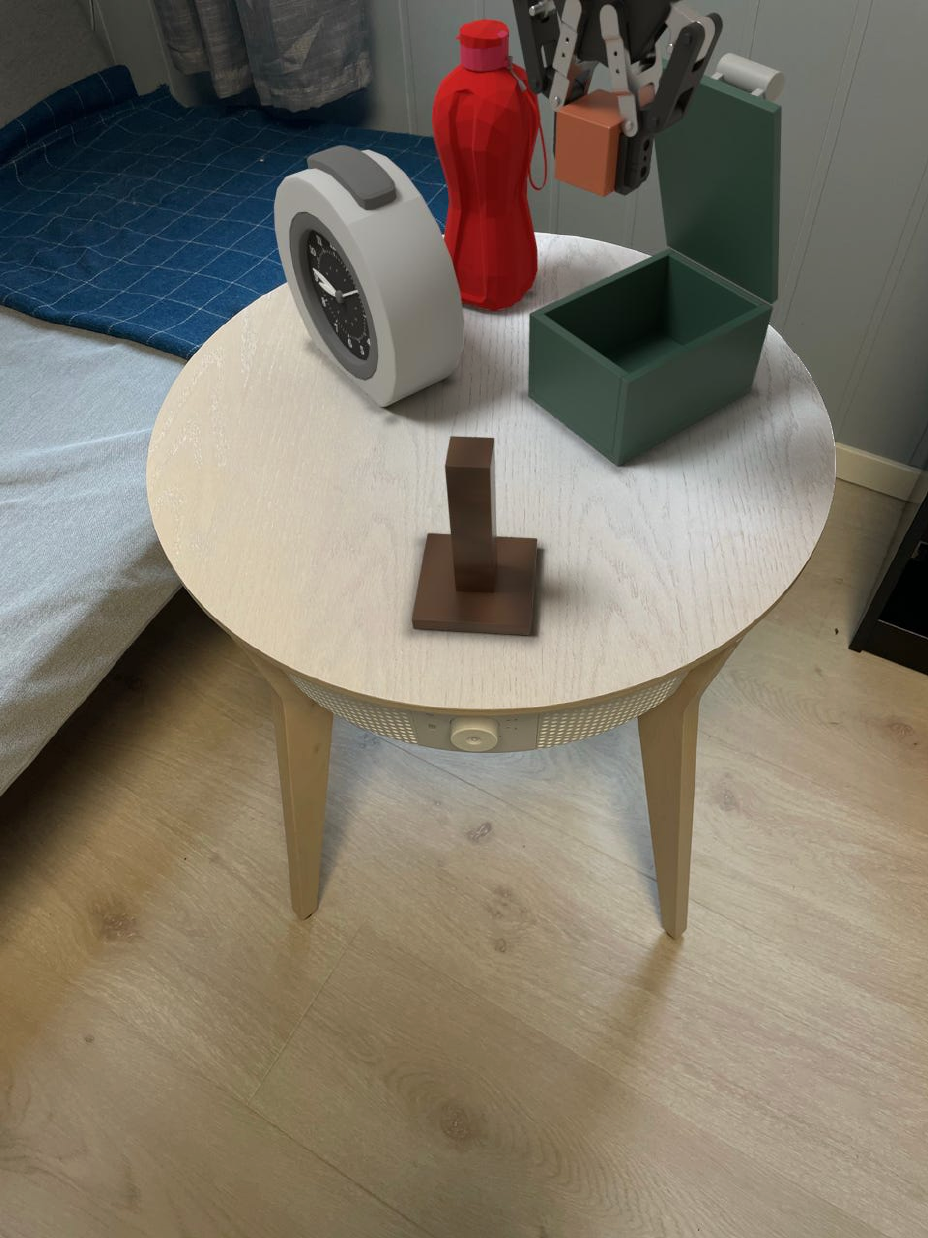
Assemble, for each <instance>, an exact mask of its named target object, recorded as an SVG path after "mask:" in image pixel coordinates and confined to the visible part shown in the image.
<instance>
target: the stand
mask: <svg viewBox="0 0 928 1238" xmlns="http://www.w3.org/2000/svg"><path fill="white" fill-rule="evenodd" d="M495 450H496V449H495V437H485V436H483V437H481V436H478V437H477V436H457V435H456V436H455V435H451V436H450V437H449V440H448V446H447V450H446V451H447V452H446V458H445V462H444V463H445V464H444V472H445V473H444V474H445V483H446V495H447V507H448V518H449V519H448V520H449V531H450V533H440V532H439V533H437V532H436V533H435V532H428V533H426V538H425V544H424V550H423V556H422V562H421V566H420V571H419V577H418V583H417V588H416V593H415V597H414V598H415V599H414V604H413V610H412V613H411V625H412V628H413V629H417V630H418V629H419V630H435V631H448V632H449V631H451V632H467V633H469V632H470V633H483V634H484V633H485V634H500V635H502V634H503V635H516V636H517V635H519V636H520V635H521V636H531V632H532V619H533V607H534V594H535V581H536V580H535V579H536V568H537V555H538V538H537V537H520V536H502V535H501V536H499V535H497V533H498V532H497V498H496V497H497V494H496V493H497V491H496V490H497V489H496V453H495V452H496V451H495Z"/></svg>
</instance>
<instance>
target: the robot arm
mask: <svg viewBox="0 0 928 1238" xmlns="http://www.w3.org/2000/svg"><path fill="white" fill-rule="evenodd" d="M511 1H512V7H513V11H514V18H515V21H516V28H517V32H518V38H519V43H520V49H521V54H522V58H523V59H522V60H523V65H524V70H525V71H526V75H527V80H528V86H529V89H530V90H531V92H532V93H533V94H536V95H537V96H538V95H539V94H541V95H543V96H544V97H545V98H547V100H548V104H549V106H550V108H551V110H552V111H553V132H552V133H553V136H552V142H553V143H552V154H553V158H554V159H555V150H556V123H557V110H559V109H560V108H562V107H564V106H566V105H568V104H570V103H572V102H574V101H576V100H578V99H579V98H581V97H583V96H585V95H587V94H589V89H590V86H591V82H592V79H593V75H594V73H595V69H596V68H597V66H598V65H599V64H602V65H603V66H604V67H606V68H607V69H608V73H609V74H608V75H609V82H610V89H611V92H612V93H614V94H615V95H617V97H618V103H619V112H620V120H621V128H622V131H623V133H621V134H619V142H618V153H617V164H616V175H615V186H614V191H613V192H614V193H617V194H619V195H622V196H627V195H629V194H631V193H632V192H633V191H636V190H637V189H639V188H640V187H641V185H642V183H644V182H646V181H647V179H648V177H649V175H650V172H651V163H652V155H653V148H654V147H653V146H654V133H655V134H656V133H659V132H661V131H662V130H664V129H666V128H668V127H669V126H671V125H673V124H674V123H676V122H678V121H679V120H681V119H683V118H684V117H685V116H686V114H687V112H688V109H689V107H690V105H691V102H692V100H693V98H694V95H695V93H696V91H697V88H698V86H699V84H700V81H701V79H702V77H703V75H705V72H706V69H707V67H708V65H709V62H710V60H711V58H712V56H713V53H714V51H715V49H716V46H717V44H718V41H719V39H720V37H721V34H722V32H723V28H724V21H723V18H722V17H721V15H720V14H719V13H718V12H710V13H708V14H706V15H704V16H703V15H702V14H701V13H699V12H697V11H696V10H695V9H693V7H691V6H690V5H688V4H687V3H685V2H684V1H683V0H511ZM559 21H560V22H561V28H560V22H559ZM667 29H668V30H669V39H668V44H667V45H666V48H665V50H666V53H667V55H670V56H669V59H668V60H669V61H668V64H667V66H666V69H665V72H664V74H663V77H662V79H661V82H660V85H659V79H660V77H661V75H662V71H663V66H662V58H663V54H662V45H661V37H662V36H663V34H664V33H665V32H666V31H667ZM542 49H543V50H542ZM542 51H543V52H542ZM543 53H544V58H543ZM544 60H545V64H546V65H545V64H544ZM636 63H638V65H637V67H636V68H634V69H633V70H632V65H634V64H636Z"/></svg>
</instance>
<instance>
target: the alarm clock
mask: <svg viewBox="0 0 928 1238" xmlns="http://www.w3.org/2000/svg"><path fill="white" fill-rule="evenodd" d="M306 162H307V167H308V168H307V169H304V170H302V171H299V172H296V173H293V174H290V175H287V176H285V177H284V178H283V180H282V182H281V183H279V185H278V187H277V189H276V193H275V197H274V198H275V199H274V204H273V215H274V216H273V217H274V218H273V219H274V230H275V231H274V233H275V237H276V242H277V248H278V253H279V254H278V255H279V258H280V261H281V264H282V268H283V272H284V275H285V279H286V283H287V285H288V288H289V290H290V294H291V295H292V298H293V301H294V304H295V307H296V309H297V311H298V313H299V316H300V317H301V320H302V322H303V325H304V326H305V328H306V330H307V333H308V335H309V338H311V340H312V342H313V344H314V346H315V347H316V349H318V350H319V351H320V352H321V353H322V354H323V355H324V356H326V357H327V358H328V359H329V360H330V361H331V362H332V363H333V364H334V365H335V366H336V367H337V368H338V369H339V370H340V371H341V372H342V373H343V374H344V375H346V376H347V377H348V378H349V379H350V380H351V381H352V382H353V383H355V385H356V386H357V387H358V388H359V389H360V390H361V391H363V392H364V393H365V394H366V395H367V396H368V398H370V399H371V400H372V401H373V402H375V403H376V405H377V406H379V407H381V408H385V407H389V406H390V405H392V404H395V403H396V402H399V401H401V400H403V399H405V398H407V397H409V396H411V395H414V394H416V393H418V392H420V391H421V390H424V389H426V388H428V387H430V386H433V385H434V384H436V383H438V382H441V381H443V380H444V379H447V378H449V377H450V376H451V374H452V373H453V372H454V370H455V369H456V368H457V367H458V365H459V362H460V359H461V354H462V352H463V349H464V337H465V336H464V335H465V334H464V333H465V319H464V310H463V303H462V302H461V294H460V289H459V285H458V282H457V278H456V274H455V270H454V267H453V263H452V259H451V256H450V254H449V251H448V249H447V246H446V244H445V241H444V235H443V234H442V232H441V228H440V226H439V224H438V222H437V221H436V219H435V217H434V215H433V213H432V212H431V210H430V207H429V206H428V204H427V202H426V201H425V198H424V197H423V195H422V194H421V193H420V191H419V190H418V188H417V187H416V186H415V184H414V182H412V180H411V179H410V178H409V176H407V174H406V172H405V171H403V170H402V169H401V168H400V167H399V166H398V165H396V163H395V162H393V161H392V160H391V159H390V158H388V157H387V156H385V155H383V154H381V153H378V152H376V151H373V150H370V149H365V150H360V149H358V148H355V147H352V146H348V145H336V146H332V147H330V148H327V149H324V150H321V151H318V152H316V153H313V154H311V155H309V156H308V157H307V159H306Z"/></svg>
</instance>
